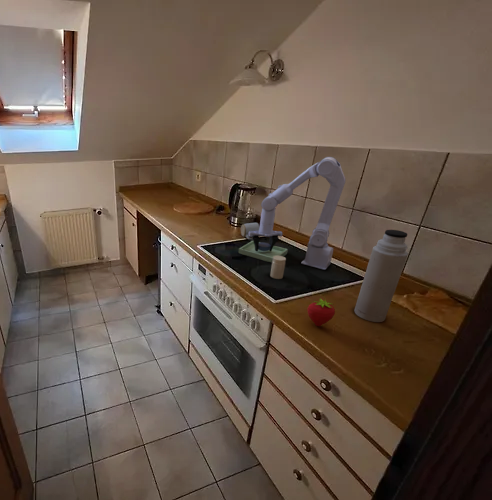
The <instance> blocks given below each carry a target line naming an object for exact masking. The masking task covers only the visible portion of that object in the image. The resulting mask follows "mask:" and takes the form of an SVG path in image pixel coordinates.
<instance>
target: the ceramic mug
mask: <svg viewBox="0 0 492 500" xmlns="http://www.w3.org/2000/svg"><path fill="white" fill-rule="evenodd" d="M259 228H260V223H258V222H250V223H249V222H248V223H243V224H241V225H240V235H241V237H243V238H246V239H247V240H248V241H250V242H251V241H253V238H252V237H249V231H258V230H259Z"/></svg>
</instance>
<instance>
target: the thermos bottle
mask: <svg viewBox="0 0 492 500" xmlns="http://www.w3.org/2000/svg"><path fill="white" fill-rule="evenodd" d="M407 237H408V233H407V232H406V231H403V230H398V229H385V231H384V234H383V237H382V238H381V239H378V240H377V242H376V245H374V246H373V247H372V250H371V253H370V257H369V260H368V264H367V267H366V270H365V273H364V277H363V280H362V283H361V287H360V290H359V294H358V297H357V300H356V303H355V307H354V313H355V315H356V316H358V317H359V318H361V319H363V320H366V321H369V322H373V323H382V322H384V321H385V320H386V318H387V315H388V313H389V310H390V306H391V303H392V300H393V298H394V295H395V292H396V289H397V287H398V284H399V280H400V278H401V275H402V272H403V270H404V267H405V264H406V261H407V259H408V256H409V252H408V251H407V250H408V244H407V243H406V238H407Z"/></svg>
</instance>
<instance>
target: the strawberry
mask: <svg viewBox="0 0 492 500" xmlns="http://www.w3.org/2000/svg"><path fill="white" fill-rule="evenodd" d="M323 298H324V300H323V299H322V298H319V300H318V301H313V302H311V303H310V304H309V305H308V307H307V309H306V311H307V316H308V317H309V319H310V320H311V321H312V322H313V323H314V325H315V326H316V327H321V326H323V325H325V324H326V323H328V322H329V321H331V320H332V319H333V317H334V316H335V314H336V310H335V308H334V307H333V304H332V302H327V300H326V297H323Z"/></svg>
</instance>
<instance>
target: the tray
mask: <svg viewBox="0 0 492 500" xmlns="http://www.w3.org/2000/svg"><path fill="white" fill-rule="evenodd" d="M259 243H261V241H259ZM288 251H289V249H288V248H286V247H285V248H284V247H280V246H276V245H274V246H273V248H272V251H269V250H268V251H262V250H258V251H256V250H255V245H254V241H251V240H250V242H247V243H246V244H244V245H243V246H240V247H239V248H238V254H240V255H243V256H247V257H250V258H254V259H258V260H260V261H264V262H268V263H271V264H272V260H273V256H283V257H285V256H286V255H287V254H288Z"/></svg>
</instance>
